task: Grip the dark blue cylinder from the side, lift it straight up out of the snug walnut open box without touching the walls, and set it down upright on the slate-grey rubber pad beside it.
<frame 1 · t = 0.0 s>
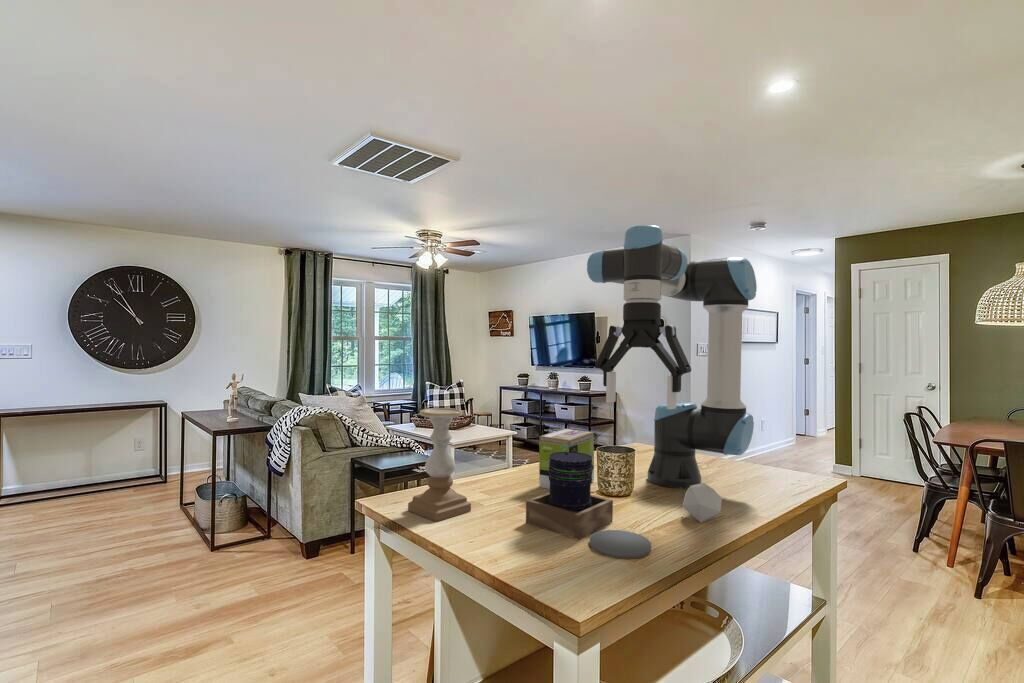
hand: (639, 405, 106), 28 cm above the kitchen island, tool pointing down, fingers open, 13 cm apart
rubber pad: (620, 545, 103), on the kitchen island
walnut open box: (569, 522, 116), on the kitchen island
die: (701, 519, 121), on the kitchen island
dark blue cylinder: (569, 523, 116), resting in walnut open box
tea box: (566, 485, 147), on the kitchen island
candle holder: (439, 511, 122), on the kitchen island
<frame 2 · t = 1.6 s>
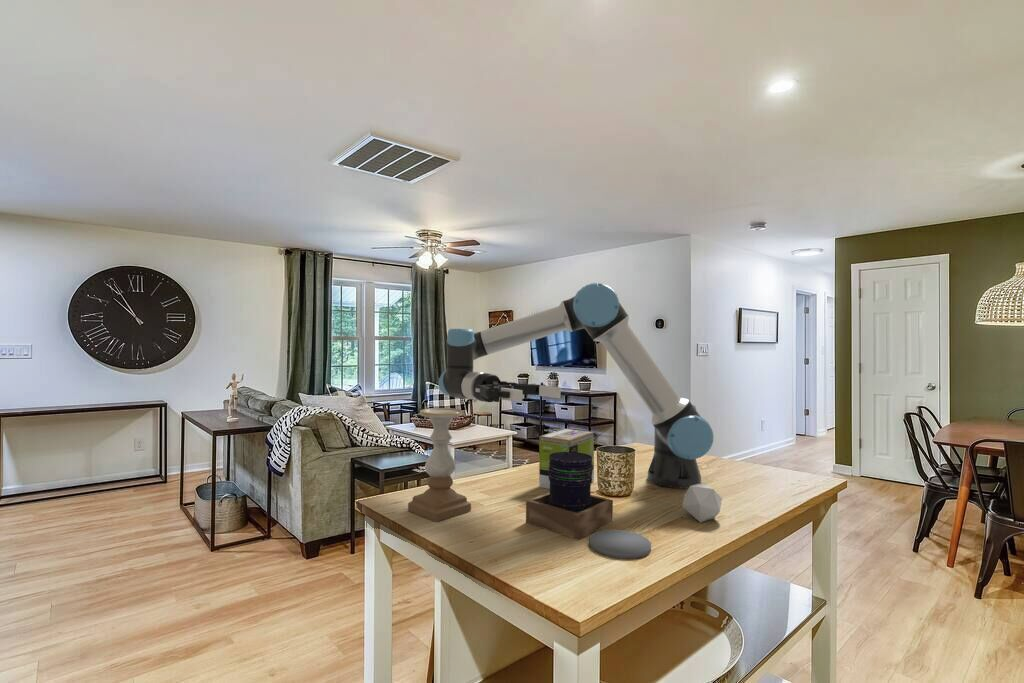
hand: (541, 394, 123), 28 cm above the kitchen island, tool horizontal, fingers open, 13 cm apart
nothing on the kitchen island moved.
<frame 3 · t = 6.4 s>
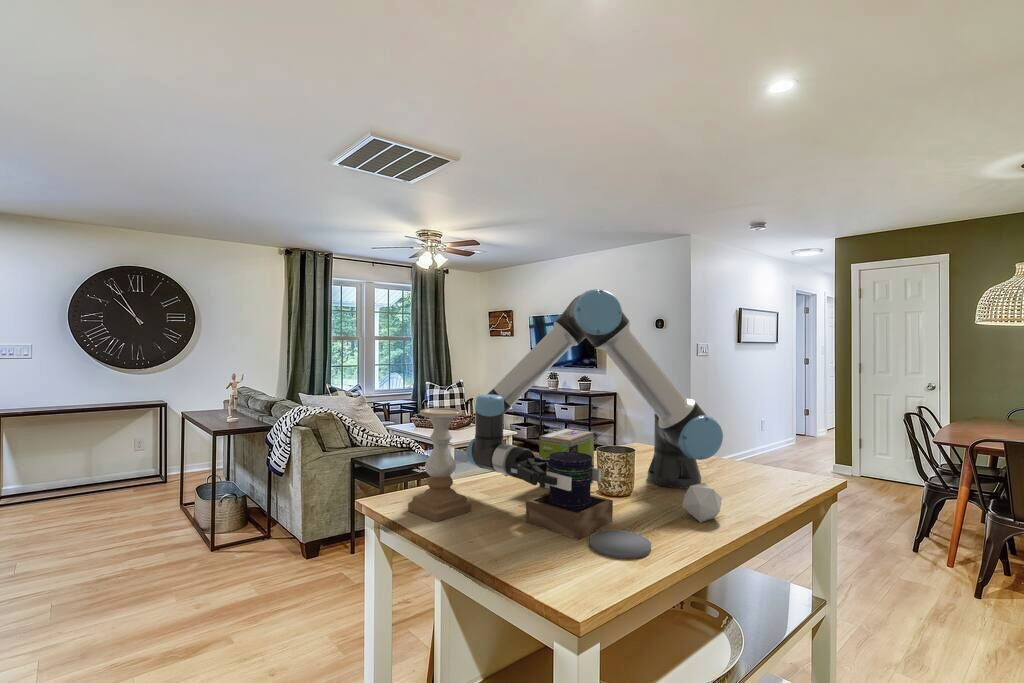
hand: (585, 479, 113), 11 cm above the kitchen island, tool horizontal, fingers closed on dark blue cylinder, 10 cm apart
dark blue cylinder: (569, 523, 116), resting in walnut open box, touching gripper
everything else where it was.
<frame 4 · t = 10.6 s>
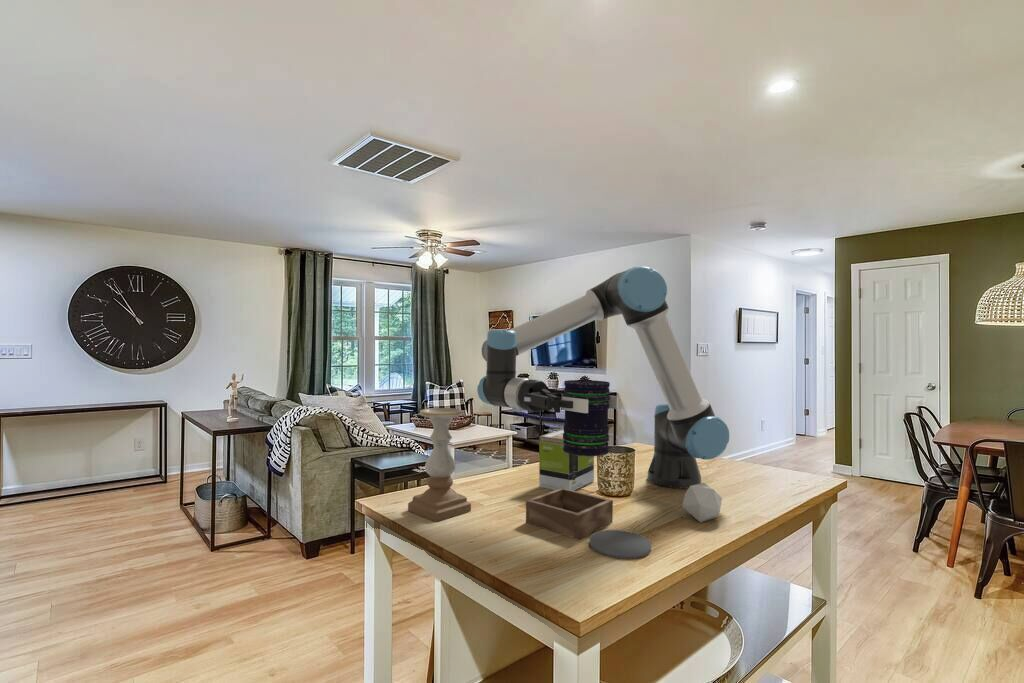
hand: (603, 404, 107), 28 cm above the kitchen island, tool horizontal, fingers closed on dark blue cylinder, 10 cm apart
dark blue cylinder: (585, 452, 111), point 17 cm above the kitchen island, touching gripper
everything else where it was.
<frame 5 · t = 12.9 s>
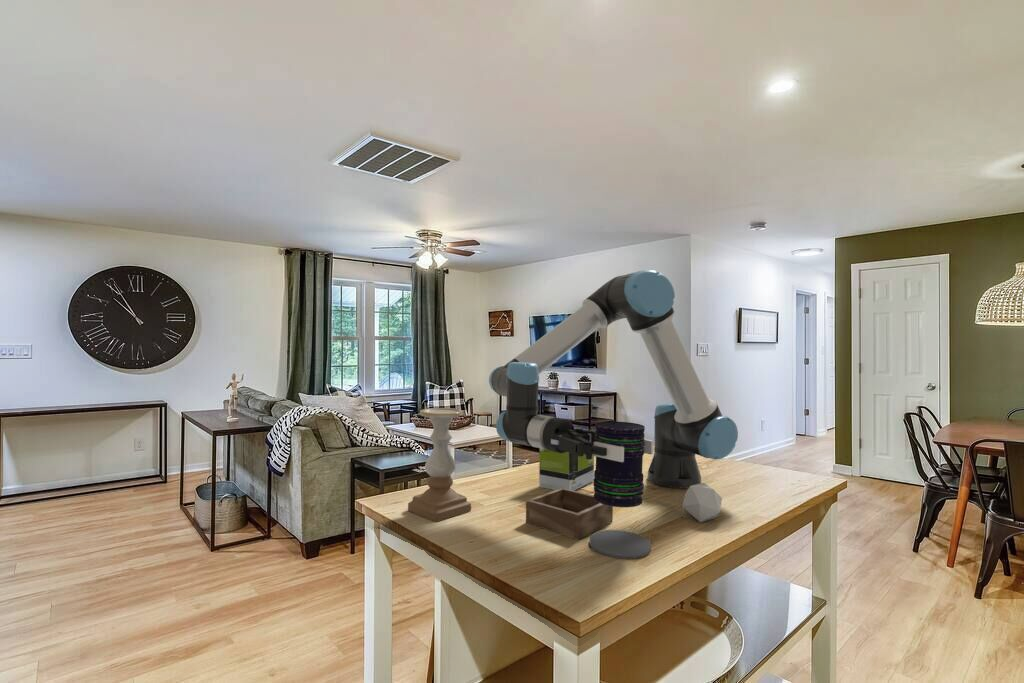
hand: (638, 451, 100), 20 cm above the kitchen island, tool horizontal, fingers closed on dark blue cylinder, 10 cm apart
dark blue cylinder: (617, 500, 103), point 9 cm above the kitchen island, touching gripper
everything else where it was.
when the fingers open (13 cm above the kitchen island, at t = 14.7 s): dark blue cylinder drops 1 cm, resting on rubber pad.
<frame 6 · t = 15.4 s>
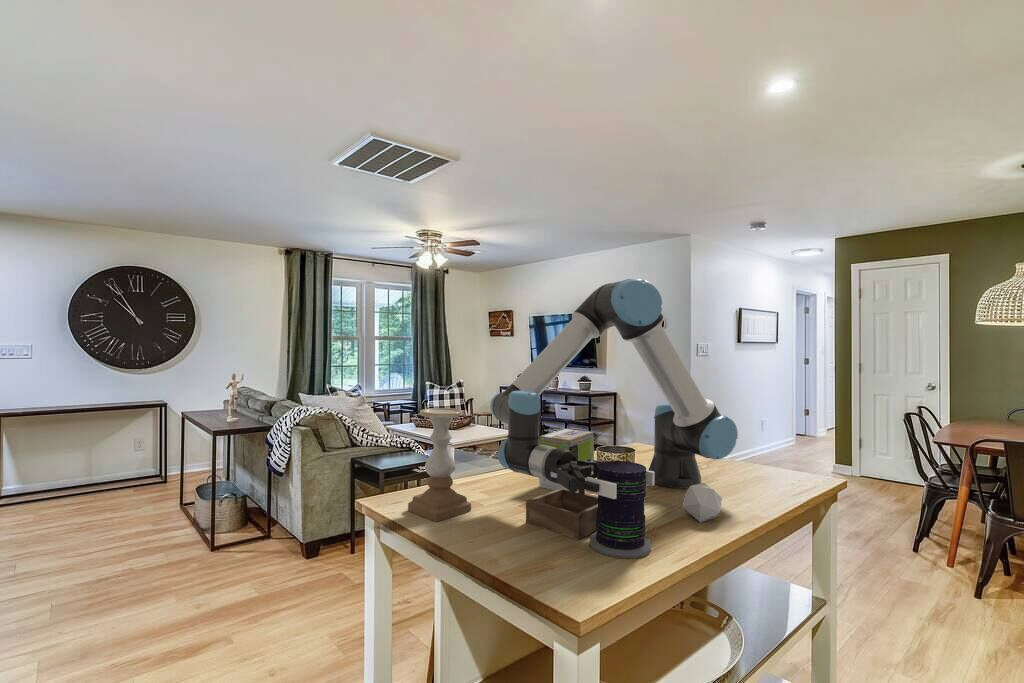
hand: (635, 484, 101), 13 cm above the kitchen island, tool horizontal, fingers open, 13 cm apart
dark blue cylinder: (620, 541, 103), point 1 cm above the kitchen island, touching rubber pad
everything else where it was.
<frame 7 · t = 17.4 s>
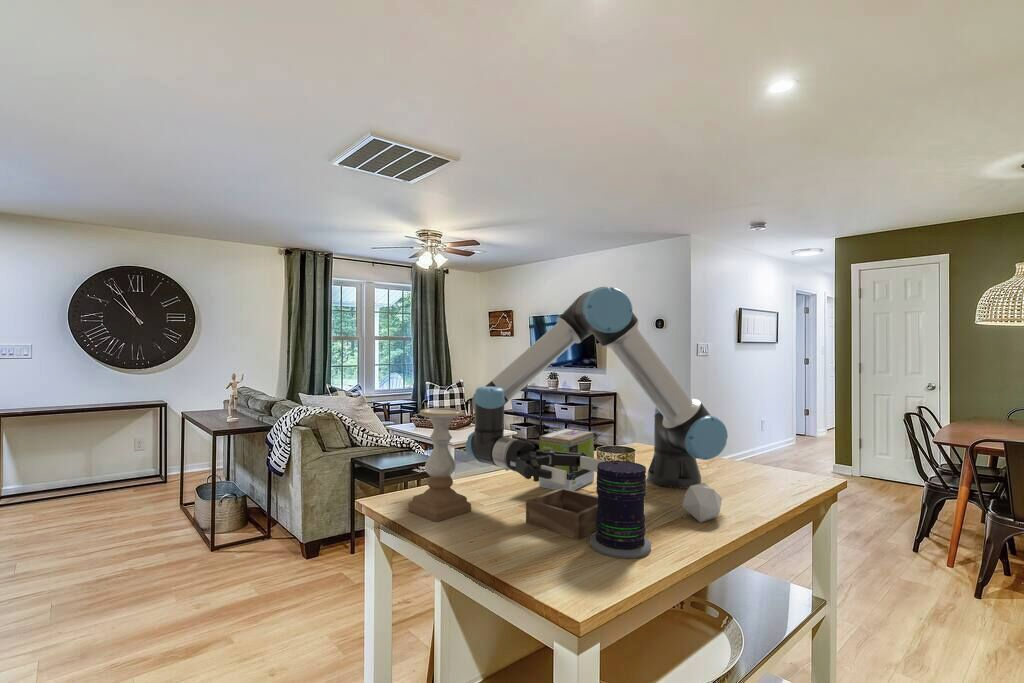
hand: (586, 472, 110), 13 cm above the kitchen island, tool horizontal, fingers open, 13 cm apart
nothing on the kitchen island moved.
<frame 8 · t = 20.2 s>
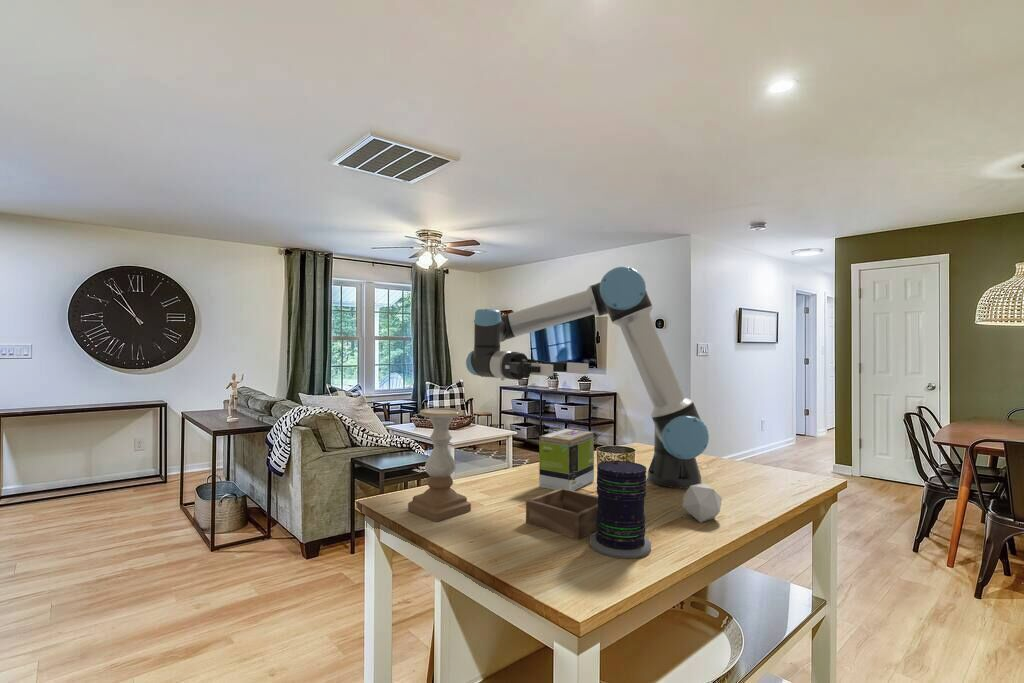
hand: (570, 369, 126), 34 cm above the kitchen island, tool horizontal, fingers open, 13 cm apart
nothing on the kitchen island moved.
at the end: dark blue cylinder inside the target area on the rubber pad (0.1 cm from its centre), point 0.8 cm above the rubber pad's base; dark blue cylinder tilted 0°; the gripper is holding nothing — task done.
